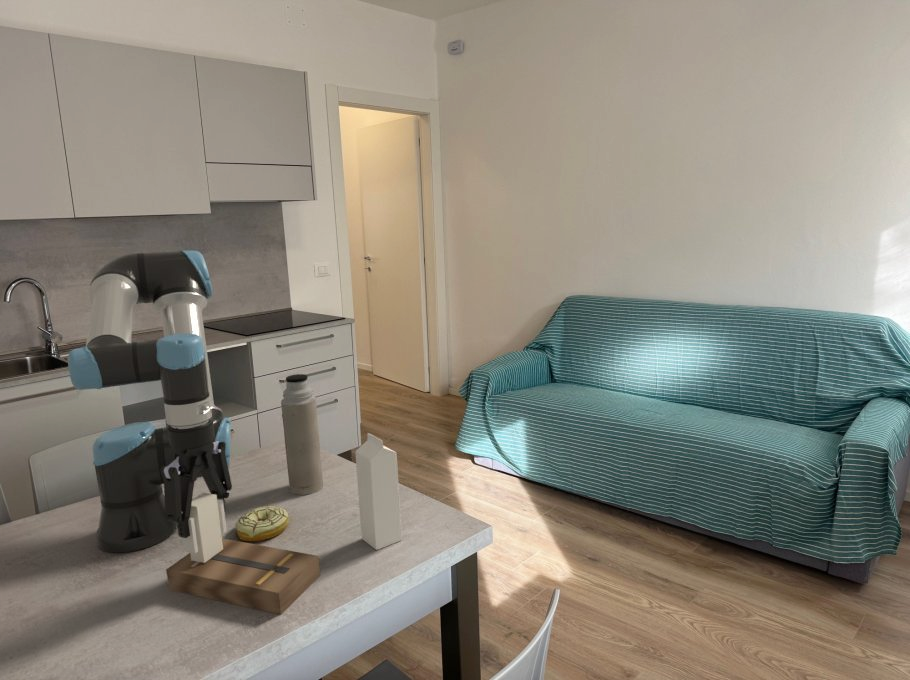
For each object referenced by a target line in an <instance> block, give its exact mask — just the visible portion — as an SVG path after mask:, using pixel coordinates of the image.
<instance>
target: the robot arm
mask: <svg viewBox="0 0 910 680" xmlns="http://www.w3.org/2000/svg"><path fill="white" fill-rule="evenodd" d="M88 289H89V290H88V298H89V300H90V302H91V303H92V305H91V311H90V318H89V324H88V330H87V337H86V343H85V346H82V347H80V348H79V347H78V348H74V349H71V350H70V351H69V353H68V356H67V358H68V359H67V363H68V364H67V366H68V373H69V378H70V382H71V385H72V386H73V387H74V388H75V389H76V390H79V391H84V390H94V389H97V390H101V389H103V388H112V387H120V386H126V385H132V384H133V385H134V384H135V385H136V384H140V383H151V382H159V381H160V382H161V383H160V384H161V389H162V396H163V406H164V412H165V427H161V428H155V426H154V424H153V423H152V422H151V421H143V422H142V421H136V422H132V423H131V422H130V423H128V424H127V423H126V424H124V425H121V426H118V427H115V428H113V429H110V430H108V431H106V432H104V433H102V434H101V435H100V436H99V437H97V438H96V439H95V440H94V442H93V445H92V454H93V461H92V465H94V469H95V475H96V481H97V487H98V492H99V498H100V499H99V500H100V504H101V505H100V506H101V510H100V517H99V521H98V528H97V530H96V541H97V546H98V548H99V549H100V550H101V551H102V550H103V551H104V552H108V553H116V554H117V553H130V552H136V551H140V550H143V549H147V548H149V547H153V546H155V545H157V544H159V543H160V542H161V543H162V542H163V541H165V540H167V538H169V537H170V536H171V535H173V534H174V533H175V532H176V530H177V532H178V533H177V534H178V536H179V538H181V545H182V551H183V552H186V553H197V552H198V545H197V538H196V530H195V523H194V518H192V517H190V511H191V504H192V499H193V496H194V495H193V494H194V487H195V482H196V481H197V479H198V478H203V480H204V482H205V484H206V486H207V489H208V491H209V494H215V495H217V503H218V511H219V519H220V527H221V534H224V533H226V532H227V531H228V530H227V523H226V522H227V520H226V509H227V508H226V500H225V499H228V498H229V496H230V492H228V491H232V489H233V486H232V485H233V484H232V479H231V475H230V467H231V418H230V417H224V416H223V415H224V413H223V410H222V409H221V408H220V407H219V406H216V405H215V402H214V395H213V394H214V393H213V388H212V387H213V386H212V381H211V373H210V365H209V358H208V357H209V356H208V349H207V348H208V347H207V341H206V334H205V333H206V332H205V327H204V318H203V312H202V311H203V310H204V309H205V308H206V307H207V305H208V299H210V298H212V297H213V287H212V283H211V279H210V274H209V270H208V267H207V263H206V261H205V257H204V256H203V254H202V253H201V252H200V251H197V250H184V249H179V250H176V251H156V252H155V251H154V252H140V253H137V252H136V253H134V252H132V253H128V254H124V255H122V256H121V255H120V256H118V257H116V258H114V259H113V260H110V261H109V262H108V263H106V264H105V265H103V266H102V267H101V268H100V269H99V270H98V271H97V272H96V273H95V275H94V276H93V277H92V279H91V281H90V284H89V288H88ZM138 304H140V305H141V304H153V309H154V310H155V311H156V312H157V313H159V314H160V315H161V320H162V331H163V337H160V338H159V339H155V340H153V339H152V340H146V341H136V342H135V341H134V342H132V334H133V333H132V331H133V310H134V309H133V308H134V307H135V306H136V305H138Z"/></svg>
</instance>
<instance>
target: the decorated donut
mask: <svg viewBox="0 0 910 680" xmlns="http://www.w3.org/2000/svg"><path fill="white" fill-rule="evenodd" d="M289 520H290V517H289V513H288V512H287V510H285V509H284V508H281V507H279V506H274V505H266V506H265V505H264V506H259V507H256V508H253V509H251V510H249V511H247V512H245V513H244V514H243V515H242V516H240V518H238V519H237V521H236V522H235V524H234V525H235V526H234V527H235V530H236V534H237V536H238V537H239V539H240V540H241V541H242V542H245V541H246V542H258V541H260V542H262V541H265V540H269V539H272V538H274V537H276V536H279V535H280V534H282V533H283V532H284V531H285V529H286V528H287V527H288V525H289Z"/></svg>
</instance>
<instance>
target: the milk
mask: <svg viewBox="0 0 910 680" xmlns="http://www.w3.org/2000/svg"><path fill="white" fill-rule="evenodd" d="M366 434H367V440H366V441H365V442H363V444H361V446H359V447H358V448H357V449H356V451H355V465H356V477H357V479H356V480H357V481H356V482H357V490H358V491H357V493H358V494H357V495H358V504H359V507H358V508H359V518H360V532H361V539H362V540H363V542H364V541H365V543H367V544H368V545H369V546H371V547H372V548H373V549H375V550H376V551H378V550H380V549H383V548H385V547H388V546H390V545H391V546H392V545H393V544H396V543H398V542H401V541H402V540H403V539H402V538H403V537H402V522H401V506H400V505H401V504H400V503H401V502H400V489H399V470H398V458H397V456H398V455H397V451H395V450H392V449H390V448H389V447H387V446H386V445H384V442H383V440H382V439H380V438H378V437H377V436H375V435H373V434H371V433H369V432H368V433H366Z"/></svg>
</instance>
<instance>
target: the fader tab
mask: <svg viewBox="0 0 910 680" xmlns="http://www.w3.org/2000/svg"><path fill="white" fill-rule="evenodd" d="M190 517H192V518H194V523H195V530H196V538H197V545H198V552H197V553H190V552H189V553H190V555H191V561H196V562H202V563H205V562H207V561H208V560H209V559H211V558H212V557H213V556H215V555H216V554H217V553H219V552H220V551H221V550H223V543H222V539H223V537H222V536H223V535H222V533H221V527H220V519H219V511H218V503H217V495H215V494H211V493H208V492H202V493H200V494H199V495H197V496H195V497H194V498H192V504H191V511H190Z"/></svg>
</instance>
